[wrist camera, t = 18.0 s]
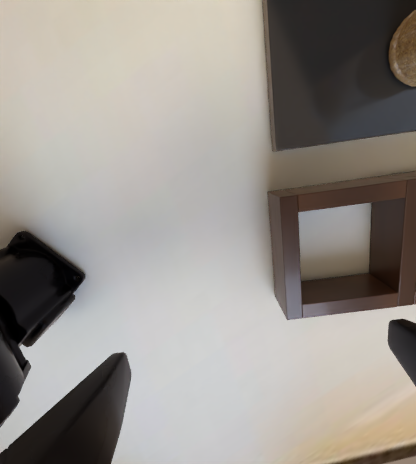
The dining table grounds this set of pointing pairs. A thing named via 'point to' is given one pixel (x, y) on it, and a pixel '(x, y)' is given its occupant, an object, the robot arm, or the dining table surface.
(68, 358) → the dining table surface
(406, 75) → the sprinkles bottle
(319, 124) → the slate board
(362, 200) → the spice rack
